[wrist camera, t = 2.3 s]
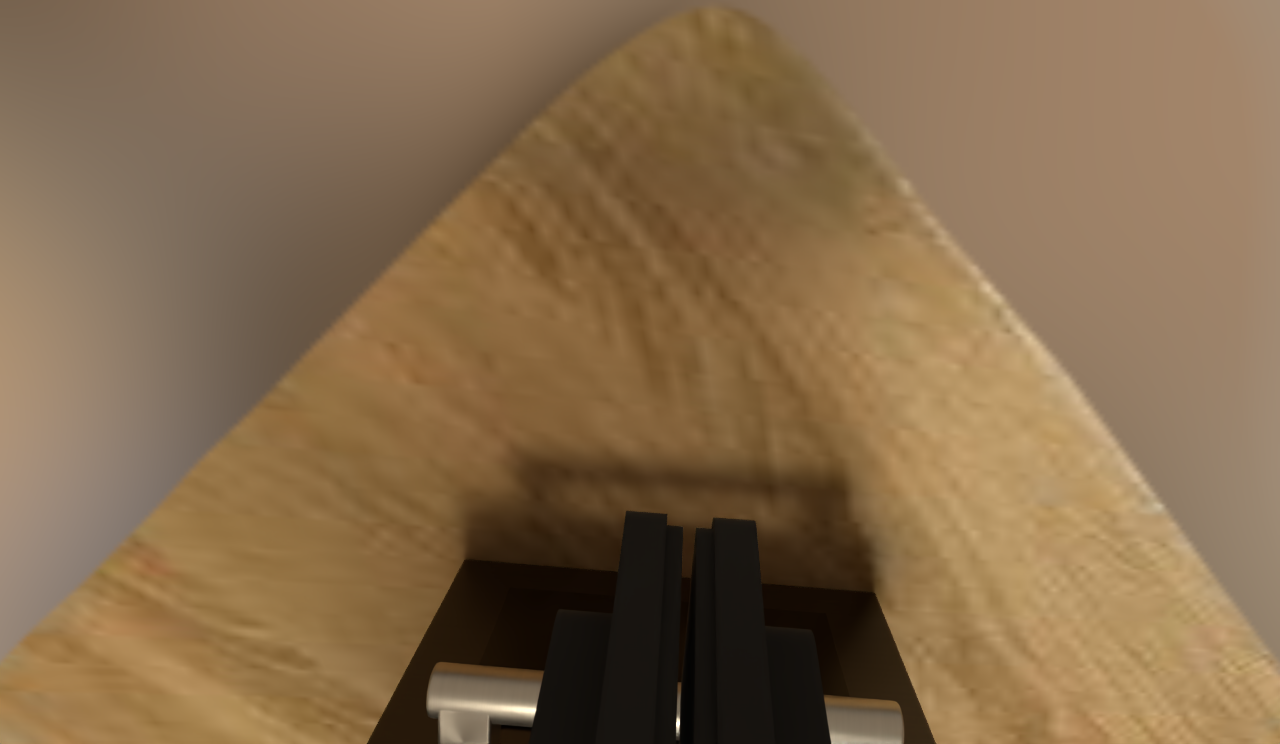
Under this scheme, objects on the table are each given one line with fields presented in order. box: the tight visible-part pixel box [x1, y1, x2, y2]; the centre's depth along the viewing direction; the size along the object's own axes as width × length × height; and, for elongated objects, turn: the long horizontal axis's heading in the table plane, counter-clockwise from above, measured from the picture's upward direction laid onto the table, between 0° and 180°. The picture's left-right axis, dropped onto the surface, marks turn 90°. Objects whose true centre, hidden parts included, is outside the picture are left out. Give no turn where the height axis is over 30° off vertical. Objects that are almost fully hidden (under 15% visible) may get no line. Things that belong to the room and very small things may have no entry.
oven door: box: [367, 560, 936, 744], centre depth 27 cm, size 4×16×13 cm, turn 88°
